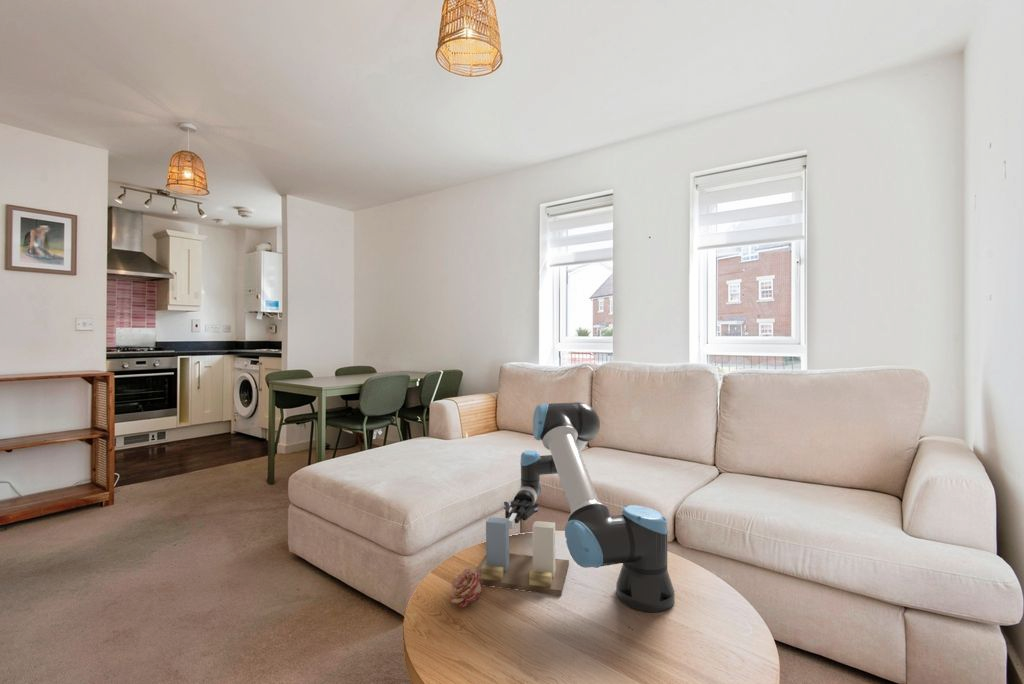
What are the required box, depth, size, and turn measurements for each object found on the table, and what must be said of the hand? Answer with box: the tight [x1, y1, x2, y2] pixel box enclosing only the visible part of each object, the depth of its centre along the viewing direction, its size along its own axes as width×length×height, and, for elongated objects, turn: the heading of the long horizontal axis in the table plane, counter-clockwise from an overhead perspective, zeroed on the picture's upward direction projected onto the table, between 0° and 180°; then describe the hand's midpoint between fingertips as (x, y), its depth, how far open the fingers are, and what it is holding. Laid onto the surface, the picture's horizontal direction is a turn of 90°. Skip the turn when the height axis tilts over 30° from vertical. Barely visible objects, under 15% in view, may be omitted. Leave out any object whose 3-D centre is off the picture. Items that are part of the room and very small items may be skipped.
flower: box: [449, 568, 483, 608], centre depth 121 cm, size 10×9×8 cm
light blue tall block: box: [485, 516, 510, 571], centre depth 136 cm, size 6×4×14 cm
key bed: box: [475, 553, 570, 596], centre depth 135 cm, size 26×17×4 cm, turn 76°
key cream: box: [531, 520, 557, 577], centre depth 133 cm, size 6×4×14 cm
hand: (510, 524), depth 151 cm, fingers closed
